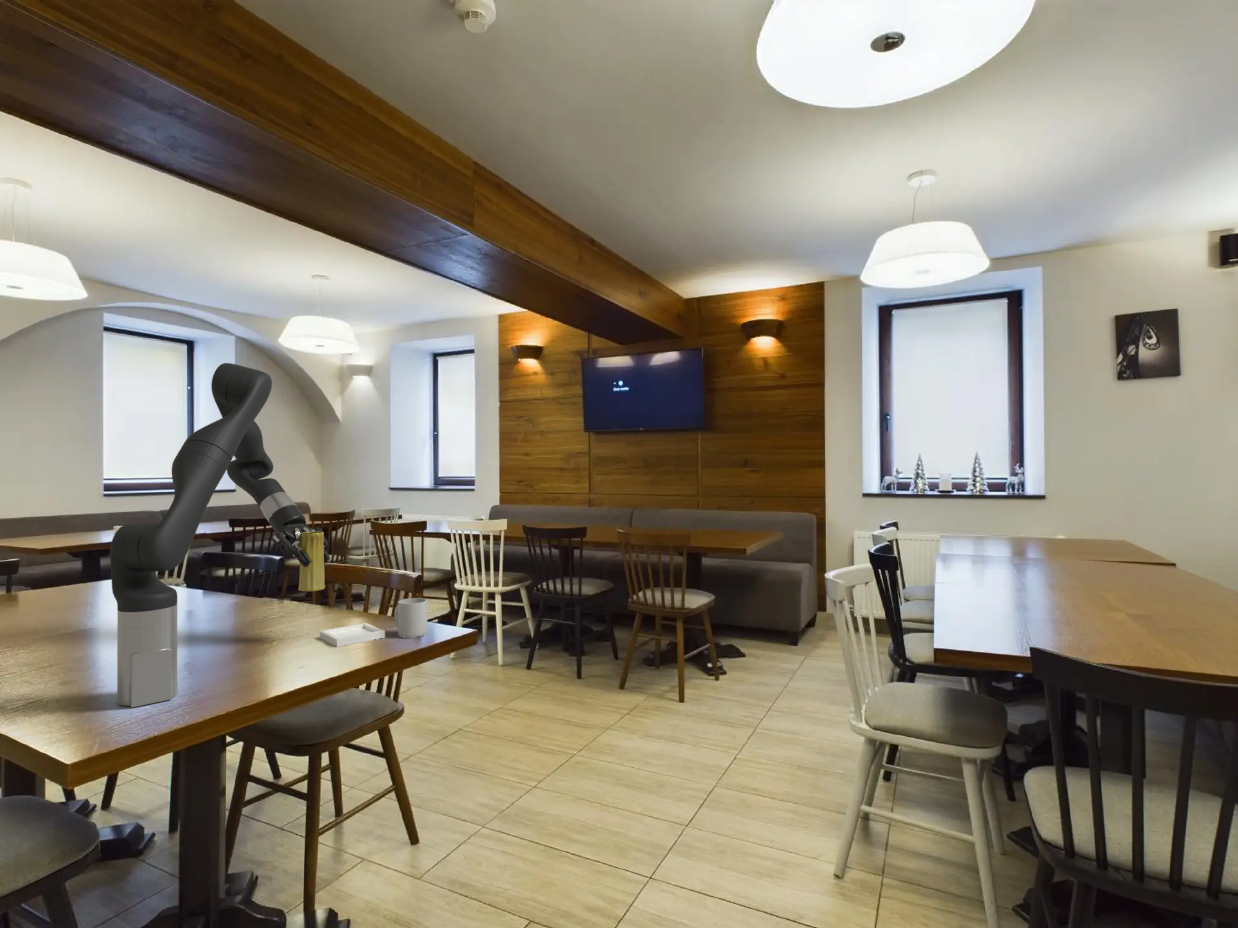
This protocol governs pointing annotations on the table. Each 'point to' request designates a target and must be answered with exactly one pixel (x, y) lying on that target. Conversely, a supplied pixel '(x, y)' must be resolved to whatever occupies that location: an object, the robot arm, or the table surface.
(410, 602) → the cup
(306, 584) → the vase
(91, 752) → the table surface
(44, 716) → the table surface
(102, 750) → the table surface
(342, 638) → the dish
